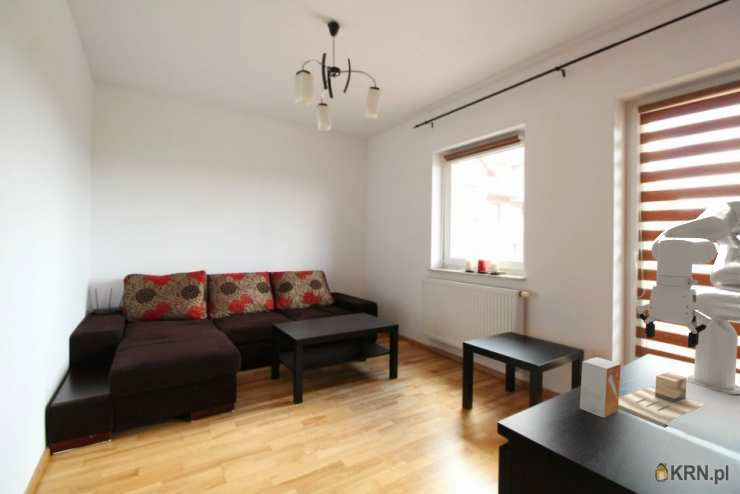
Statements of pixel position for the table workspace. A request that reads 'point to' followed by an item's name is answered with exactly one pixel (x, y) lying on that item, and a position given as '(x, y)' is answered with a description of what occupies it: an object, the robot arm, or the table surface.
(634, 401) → the board
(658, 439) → the table surface
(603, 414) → the small box
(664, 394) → the block
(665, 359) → the table surface
